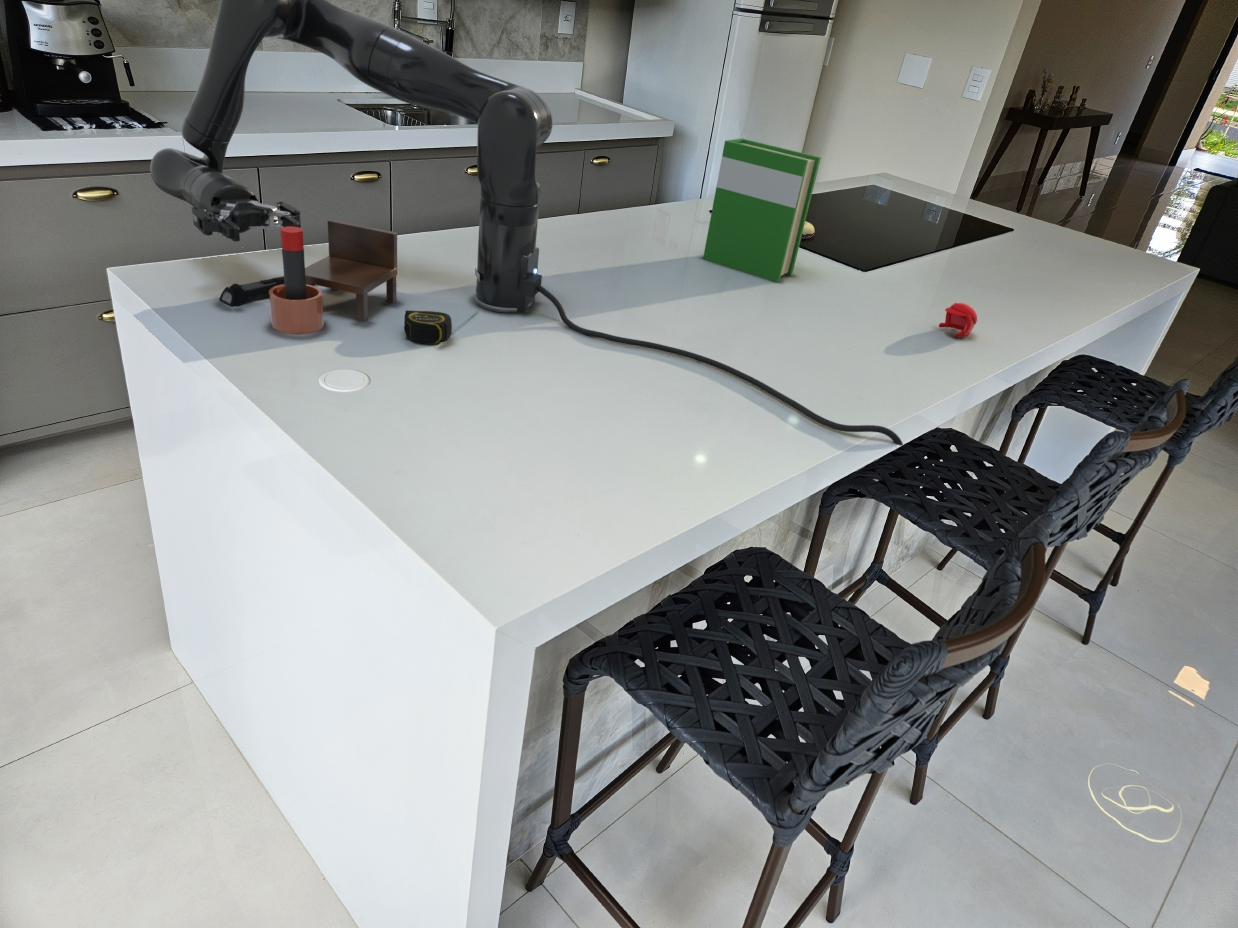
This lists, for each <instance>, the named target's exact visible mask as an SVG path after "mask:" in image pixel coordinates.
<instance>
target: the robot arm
mask: <svg viewBox="0 0 1238 928" xmlns="http://www.w3.org/2000/svg"><path fill="white" fill-rule="evenodd" d="M264 38H269V39H277V40H284V41H288V42H291V43H295V44H298V45H301V46H304V47H305V48H309V49H311V50H314V51H317V52H319V53H321V54H323V55H325V56H327V57H329V58H330V59H332V61H333V60H334V62H335V63H337V64H338V65H339V66H340V67H341V68H343V69H344V70H345V71H347V72H348V73H349V74H350V75H351V76H353V77H354V78H355V79H356V80H358V81H360V82H361V83H363V84H364V85H366V86H368V87H370V88H372V89H374V90H376V91H378V92H381V93H382V94H385V95H387V96H389V97H392V98H393V99H395V100H399V101H401V102H404V103H406V104H409V105H413V106H416V107H420V108H425V109H429V110H434V111H438V112H443V113H446V114H450V115H451V114H452V115H455V116H458V117H461V118H463V119H465V120H468V121H470V122H472V123H474V124H476V125H477V138H476V139H477V141H476V142H477V143H476V156H477V157H476V168H477V169H476V172H477V178H478V179H477V180H478V182H479V185H480V197H479V198H480V200H479V218H478V219H479V220H478V221H479V222H478V240H477V241H478V243H477V263H476V267H474V275H475V277H476V282H475V283H476V286H475V295H474V301H475V303H476V304H477V305H478V306H479V307H481V308H483V309H486V310H490V311H493V312H498V313H519V314H525V313H526V312H527V311H528V310H529V309H530V308H531V307H532V306H533V305H534V304H535V302H536V296H537V294H538V293H540V294H542V295H543V296H544V297H545V298H546V299H548V300H549V301H550V302H551V304H552V305H554V307H555V308H556V310H557V312H558V315H559V317H560V319H561V321H562V323H564V324H565V326H567V327H568V328H569V329H571V330H572V331H575V332H577V333H579V334H582V335H584V336H589V337H594V338H597V339H603V340H606V341H610V342H613V343H614V342H615V343H619V344H623V345H624V344H625V345H630V346H636V347H640V348H641V347H642V348H647V349H652V350H655V351H656V350H657V351H661V352H665V353H670V354H673V355H677V356H681V357H685V358H688V359H690V360H694V361H697V362H701V363H704V364H706V365H709V366H712V367H715V368H717V369H718V370H719V369H720V370H722V371H724V372H727V373H729V374H730V375H733V376H735V377H737V378H739V379H741V380H743V381H745V382H747V383H749V384H751V385H754V386H755V387H757V388H758V389H760V390H762V391H764V392H765V393H767V394H769V395H771V396H772V397H774V398H776V399H778V400H779V401H781V402H783V403H784V404H786V405H788V406H790V407H791V408H793V409H795V410H797V411H798V412H799V413H801V414H803V415H804V416H806V417H807V418H809V419H811V420H813V421H814V422H816V423H818V424H820V425H822V426H824V427H827V428H830V429H833V430H836V431H839V432H845V433H879V434H882V435H885V436H886V437H888V438H889V439H890V440H892V441H893V443H894V444H895V445H898V446H903V445H904V443H903V441H902V439H901V437H899V435H898V433H896V432H895V431H893V430H892V429H890V428H888V427H885V426H883V425H882V426H881V425H874V424H864V425H863V424H861V425H857V424H856V425H855V424H854V425H851V424H843V423H838V422H835V421H832V420H830V419H827V418H825V417H823V416H821V415H819V414H817V413H815V412H813V411H812V410H811V409H809V408H807V407H806V406H804V405H803V404H801V403H799V402H797V401H796V400H794V399H793V398H790V397H788V396H787V395H786V394H783V393H782V392H780V391H778V390H776V389H774V388H773V387H772V386H770V385H768V384H766V383H764V382H762V381H761V380H758V379H757V378H755V377H753V376H750V375H749V374H747V373H744V372H743V371H740V370H739V369H736V368H734V367H731V366H730V365H727V364H725V363H723V362H720V361H718V360H715V359H712V358H709V357H707V356H703V355H701V354H698V353H694V352H692V351H689V350H685V349H680V348H678V347H677V348H676V347H673V346H668V345H664V344H661V343H656V342H651V341H646V340H640V339H634V338H628V337H623V336H617V335H614V334H609V333H605V332H601V331H597V330H592V329H587V328H583V327H581V326H579V325H578V324H576V323H574V322H573V321H571V320H570V319H569V318H568V316H567V315H566V312H565V309H564V307H563V305H562V303H561V302H560V301H559V300H558V298H556V296H555V295H554V294H552V293H551V292H550V291H549V290H547V289H546V288H545V287H543V286H542V279H543V275H542V274H538V270H539V269H538V268H539V257H540V248H539V247H538V246H537V236H538V235H537V234H538V224H539V211H540V202H541V201H540V199H541V186H540V183H539V182H538V181H537V179H536V161H537V149H538V148H539V147H542V145H543V144H544V143H545V142H546V141H547V140H548V139H549V137H550V136H551V134H552V130H553V126H554V125H553V124H554V122H553V115H552V111H551V109H550V107H549V105H548V103H547V101H545V99H544V98H543V97H542V96H541V95H540V94H539V93H538V92H537V91H536V92H535V91H534V90H532V89H530V88H528V87H525V86H521V85H518V84H515V83H513V82H511V81H510V82H509V81H507V80H504V79H500V78H497V77H495V76H492V75H489V74H486V73H484V72H482V71H479V70H477V69H475V68H473V67H470V66H469V65H467V64H465V63H463V62H461V61H460V60H458V59H457V58H455V57H453V56H451V55H449V54H448V53H446V52H444V51H442V50H440V49H437V48H435V47H434V46H432V45H430V44H428V43H426V42H424V41H422V40H420V39H418V38H417V37H415V36H412V35H411V34H408V33H406V32H405V31H402V30H401V29H398V28H396V27H393V26H391V25H389V24H386V23H383V22H381V21H378V20H377V19H374V18H371V17H369V16H366V15H363V14H360V13H357V12H354V11H351V10H347V9H345V8H342V7H340V6H338V5H336V4H334V3H332V2H331V1H329V0H220V4H219V7H218V13H217V17H216V22H215V26H214V31H213V34H212V38H211V43H210V48H209V51H208V55H207V59H206V63H205V66H204V70H203V74H202V76H201V79H200V81H199V85H198V87H197V89H196V92H195V94H194V96H193V98H192V101H191V103H190V105H189V108H188V110H187V113H186V115H185V117H184V119H183V122H182V124H181V128H180V131H181V136H182V138H183V139H184V141H186V142H187V144H189V145H190V146H191V147H193V148H194V149H196V150H198V151H199V152H201V153H202V154H203V156H202V157H199V156H196V155H193V154H191V153H188V152H185V151H182V150H179V149H175V148H170V147H167V148H163V149H160V150H158V151H157V152H156V153H155V154H154V155H153V157H152V158H151V162H150V167H149V169H150V176H151V179H152V181H153V183H154V184H155V186H156V187H157V188H158V189H159V190H160V191H162V192H164V193H166V194H167V195H170V196H172V197H174V198H176V199H179V200H181V201H184V202H186V203H188V204H189V205H190V206H192V207H191V215H192V221H193V226H195V228H197V229H198V231H200V232H201V233H202V234H203V235H204V236H212V235H213V234H214V233H217V235H219V236H222V237H225V238H226V239H228V240H231V241H232V242H240V241H241V238H240V236H241V235H240V234H244V233H246V232H248V231H250V230H251V229H253V230H256V229H262V230H267V231H275V230H277V229H279V230H281V228H283V227H289V226H291V227H299V228H301V229H302V222H301V210H299V209H297V208H296V207H294V206H292V205H290V204H288V203H287V202H285V201H282V200H279V201H277V202H276V206H275V205H270V204H265V203H261V202H260V200H259V199H258V197H257V196H256V194H255V193H254V192H253V191H252V190H251V189H250V188H248V187H247V186H245V185H243V184H242V183H241V182H239V181H237V180H236V179H234V178H233V177H231V176H229V175H227V174H224V167H225V160H226V154H227V150H228V146H229V144H230V143H231V140H232V138H233V136H234V134H235V131H236V129H237V127H238V125H239V122H240V120H241V117H242V114H243V111H244V108H245V107H244V106H245V99H246V97H245V96H246V95H245V94H246V89H245V88H246V76H247V72H248V68H249V65H250V62H251V59H252V57H253V55H254V53H255V52H256V50H257V49H258V47H259V45H260V44H261V42H262V41H263V40H264ZM267 222H268V223H267Z"/></svg>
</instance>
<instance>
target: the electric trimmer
mask: <svg viewBox="0 0 1238 928" xmlns="http://www.w3.org/2000/svg"><path fill="white" fill-rule="evenodd" d="M282 284H285V282H284V275H282V276H278V277H277V276H276V277H272V278H269V279H260V280H259V281H254V282H250V283H244V284H238V283H233V284H231V286H226V287H225V288H224V289H223V291H222V292H221V294H220V296H219V302H222V303H223V304H225V305H227V306H229V307H231V308H234V307H240V306H241V305H242V304H245V303H249V302H255V301H259V300H263V299H268V298H269V290H270V289H271V288H273V287H275V286H278V285H282ZM308 285H312V286H315V287H316V285H313V284H309V283H308Z"/></svg>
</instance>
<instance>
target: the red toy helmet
mask: <svg viewBox="0 0 1238 928" xmlns="http://www.w3.org/2000/svg"><path fill="white" fill-rule="evenodd" d="M944 311H945V312H946V313H945V320H944V322H940V323H939V324H938V327H939V328H950V329H955V330H959V332H956V333H955V334H954V337H955V338H956V339H958V338H964V337H968V336H970V335H971V333H972V330H973V329H974V327H975V325H976V324H977V323H978V315H977V312H976V311H975V310H974V308H973V307H972V306H971V305H969V304H967V303H964V302H954V303H953V304H951V305H950V306H949V307H946V308H945V309H944Z"/></svg>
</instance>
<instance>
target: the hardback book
mask: <svg viewBox="0 0 1238 928" xmlns="http://www.w3.org/2000/svg"><path fill="white" fill-rule="evenodd" d="M723 144H724V145H723V148H722V154H721V160H720V165H719V171H718V176H717V181H716V187H715V193H714V198H713V202H712V203H713V204H712V209H711V214H710V219H709V225H708V230H707V234H706V235H707V236H706V241H705V246H704V250H703V257H702V259H703V260H706V261H710V262H712V263H716V264H718V265H722V266H725V267H728V268H732V269H734V270H738V271H741V272H745V273H746V274H751V275H754V276H756V277H760V278H763V279H766V280H770V281H772V282H774V283H775V282H776V283H779V282H780V281H781V277H782V276H783V275H785V276H789V277H792V276H793V274H794V269H795V266H796V261H797V257H798V253H799V249H800V245H801V241H802V239H801V237H802V233H803V229H804V225H805V221H806V220H807V216H808V212H809V208H810V204H811V200H812V195H813V191H814V188H815V183H816V180H817V179H816V178H817V175H818V171H819V167H820V163H821V159H822V157H821V156H817V155H813V154H808V153H804V152H801V151H797V150H792V149H787V148H783V147H780V146H775V145H772V144H771V145H770V144H767V143H763V142H759V141H755V140H750V139H746V138H741V137H740V138H734V139H728V140H724V143H723ZM806 222H807V221H806Z"/></svg>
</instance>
